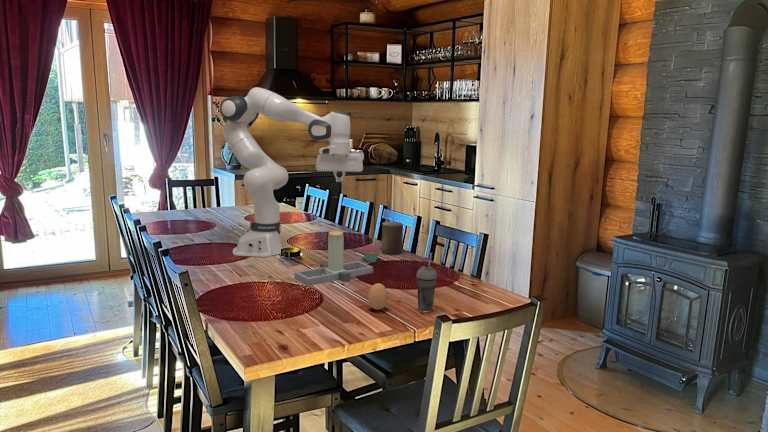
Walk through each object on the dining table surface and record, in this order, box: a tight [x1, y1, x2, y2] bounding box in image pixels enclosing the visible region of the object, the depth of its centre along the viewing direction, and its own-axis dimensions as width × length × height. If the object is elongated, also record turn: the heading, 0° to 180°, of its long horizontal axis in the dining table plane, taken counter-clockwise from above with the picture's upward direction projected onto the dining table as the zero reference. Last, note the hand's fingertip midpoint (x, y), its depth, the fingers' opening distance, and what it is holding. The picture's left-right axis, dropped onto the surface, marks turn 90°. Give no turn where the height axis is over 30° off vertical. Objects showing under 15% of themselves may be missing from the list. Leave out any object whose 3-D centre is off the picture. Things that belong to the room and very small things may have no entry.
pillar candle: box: [381, 221, 404, 256], centre depth 264 cm, size 10×10×15 cm
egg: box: [367, 282, 389, 311], centre depth 191 cm, size 7×7×9 cm
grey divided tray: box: [293, 260, 374, 286], centre depth 228 cm, size 30×18×3 cm, turn 128°
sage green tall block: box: [324, 230, 347, 275], centre depth 226 cm, size 6×7×17 cm
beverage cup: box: [415, 252, 438, 312], centre depth 191 cm, size 7×7×20 cm
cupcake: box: [360, 234, 382, 263], centre depth 250 cm, size 9×8×12 cm
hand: (339, 181), depth 247 cm, fingers closed
